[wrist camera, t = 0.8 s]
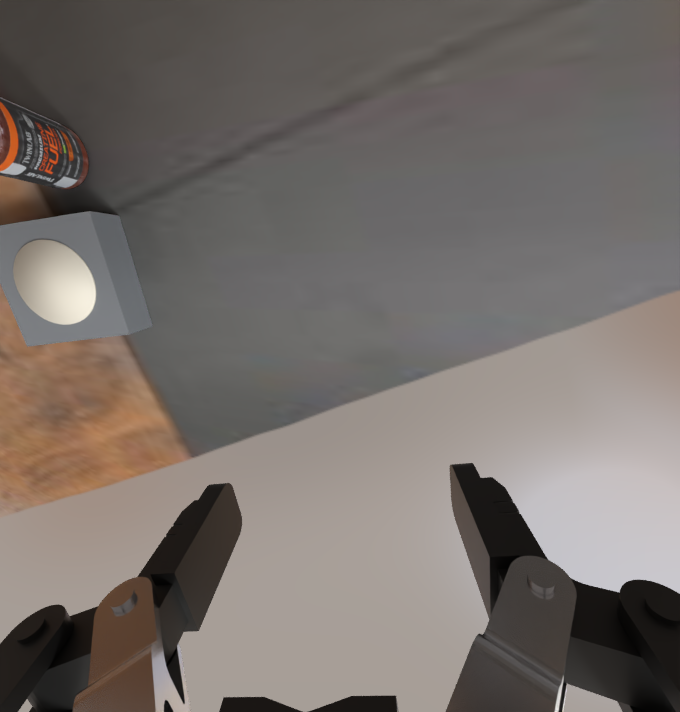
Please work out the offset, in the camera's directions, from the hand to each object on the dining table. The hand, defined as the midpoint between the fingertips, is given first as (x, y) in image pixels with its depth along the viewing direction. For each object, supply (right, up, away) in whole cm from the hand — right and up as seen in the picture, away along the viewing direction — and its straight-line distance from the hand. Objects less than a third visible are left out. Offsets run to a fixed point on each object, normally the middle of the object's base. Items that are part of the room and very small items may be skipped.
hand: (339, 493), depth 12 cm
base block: (-29, +13, +25) cm, 40 cm away
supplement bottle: (-28, +25, +22) cm, 43 cm away
